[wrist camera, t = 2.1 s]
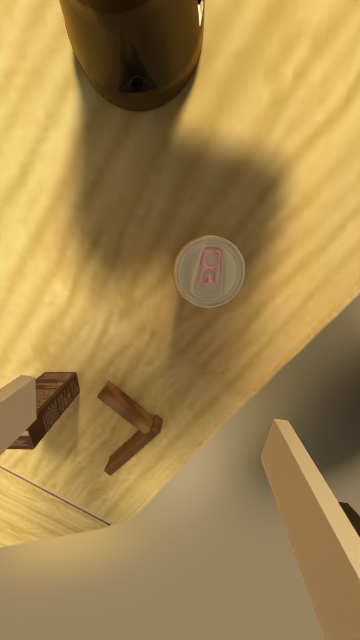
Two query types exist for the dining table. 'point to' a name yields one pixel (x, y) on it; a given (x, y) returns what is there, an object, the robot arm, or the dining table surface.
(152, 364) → the dining table surface
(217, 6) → the dining table surface
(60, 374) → the box
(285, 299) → the dining table surface
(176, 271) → the beverage can
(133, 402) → the corner fence
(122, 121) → the dining table surface
